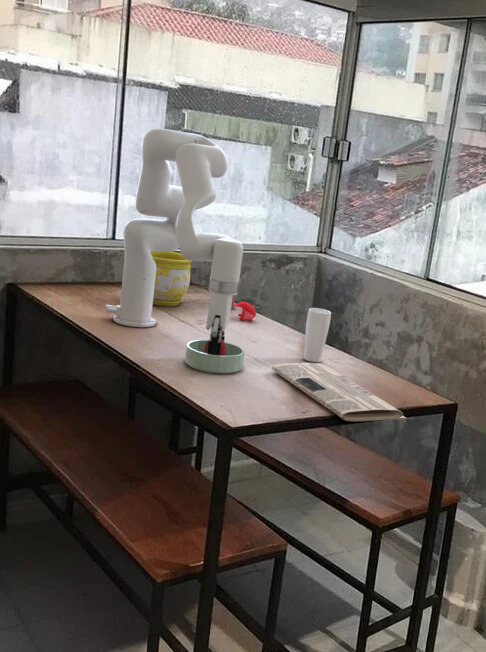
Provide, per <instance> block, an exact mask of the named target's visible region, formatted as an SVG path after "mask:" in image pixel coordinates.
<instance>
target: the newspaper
mask: <svg viewBox="0 0 486 652" xmlns="http://www.w3.org/2000/svg"><path fill="white" fill-rule="evenodd" d="M271 370H272V371H273V372H275V373H276V374H277V375H279V376H280V377H282V378H283V379H284V380H286V381H288V382H289V383H290V384H292V385H293V386H294V387H296V388H298V389H299V390H300V391H302V392H303V393H305V394H306V395H307V396H309V397H311V398H312V399H313V400H314V401H316V402H317V403H319V404H320V405H322V406H323V407H325V408H326V409H328V410H329V411H331V412H332V413H333V414H335V415H336V416H337V417H338V418H341V419H342V420H343V421H346V422H371V421H393V420H399V419H407V417H405V416H404V412H402V411H401V410H399V409H398V408H396V407H394V406H392V405H391V404H389V403H388V402H387V401H385V400H383V399H382V398H379V397H378V396H377V395H375V394H373V393H372V392H370V391H368V390H367V389H365V388H363V387H362V386H361V385H359V384H357V383H356V382H354V381H352V380H351V379H349V378H348V377H346V376H344V375H343V374H341V373H339V372H337V371H336V370H334V369H333V368H331V367H329V366H328V365H326V364H324V363H318V362H290V363H289V362H288V363H285V362H284V363H277V364H273V365H272V366H271Z"/></svg>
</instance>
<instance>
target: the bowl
mask: <svg viewBox="0 0 486 652" xmlns="http://www.w3.org/2000/svg"><path fill="white" fill-rule="evenodd" d="M209 340H210V339H195V340H191V341H189V342H187V343H186V347H185V356H184V362H185V364H187V365H188V366H189V367H190V368H192V369H195V370H197V371H200V372H204V373H210V374H216V375H217V374H220V375H221V374H222V375H224V374H226V375H228V374H234V373H237V372H239V371H241V370H242V369H243V367H244V360H245V355H246V354H245V353H246V351H245V349H244V348H243V347H241V346H239V345H237V344H235V343H232V342H227V341H224V342H225V344H226V347H227V352H226V355H225V356H219V355H211V354H206V353H205V345H206V343H207V342H208V341H209Z"/></svg>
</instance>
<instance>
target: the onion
mask: <svg viewBox="0 0 486 652" xmlns="http://www.w3.org/2000/svg"><path fill="white" fill-rule="evenodd" d="M220 342H221V349H220V356H225V355H226V352H227V347H226V344H225V342H226V341H225V340H224V341H223V340H222V339H221V341H220ZM208 344H209V341H208V342H207V343H206V345H205V353H206V354H207V352H208Z"/></svg>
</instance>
